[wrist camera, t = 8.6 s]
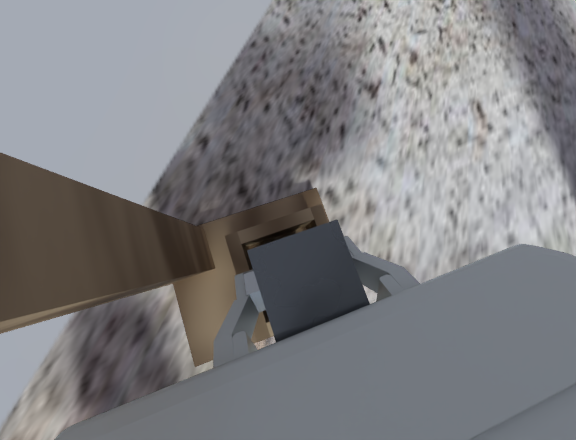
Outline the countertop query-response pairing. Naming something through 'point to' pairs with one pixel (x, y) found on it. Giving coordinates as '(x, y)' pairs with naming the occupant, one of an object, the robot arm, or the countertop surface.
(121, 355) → the countertop surface
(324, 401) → the robot arm
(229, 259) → the wooden peg slot stand
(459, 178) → the countertop surface
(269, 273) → the dark grey square peg
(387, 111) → the countertop surface
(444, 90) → the countertop surface
